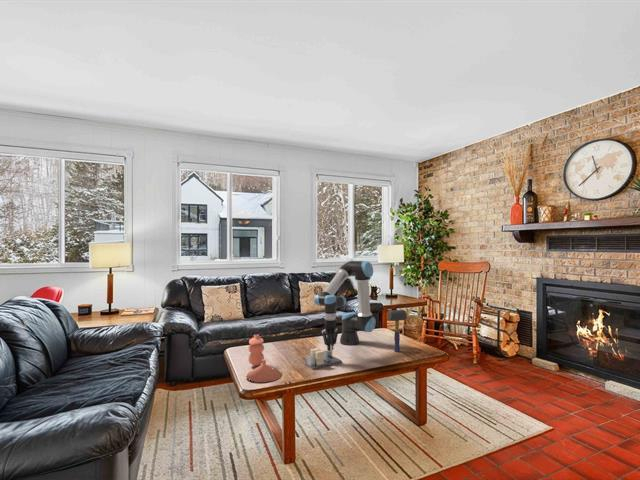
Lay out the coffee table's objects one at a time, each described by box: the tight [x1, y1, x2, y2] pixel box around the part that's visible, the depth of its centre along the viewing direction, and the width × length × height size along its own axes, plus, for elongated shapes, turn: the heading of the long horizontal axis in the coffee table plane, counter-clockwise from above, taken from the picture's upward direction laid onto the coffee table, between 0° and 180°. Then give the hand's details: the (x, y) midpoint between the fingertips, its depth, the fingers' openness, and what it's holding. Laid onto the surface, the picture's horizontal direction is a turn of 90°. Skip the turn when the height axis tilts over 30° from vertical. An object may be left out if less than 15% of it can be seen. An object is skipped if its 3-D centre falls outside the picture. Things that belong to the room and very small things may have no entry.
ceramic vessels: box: [245, 334, 283, 383], centre depth 212 cm, size 35×21×19 cm, turn 24°
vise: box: [304, 353, 343, 370], centre depth 224 cm, size 10×22×7 cm, turn 122°
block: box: [310, 347, 325, 366], centre depth 221 cm, size 8×5×8 cm, turn 32°
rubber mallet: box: [387, 309, 408, 353], centre depth 247 cm, size 12×8×30 cm, turn 104°
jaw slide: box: [323, 350, 333, 362], centre depth 224 cm, size 8×3×6 cm, turn 32°
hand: (330, 355), depth 226 cm, fingers closed
